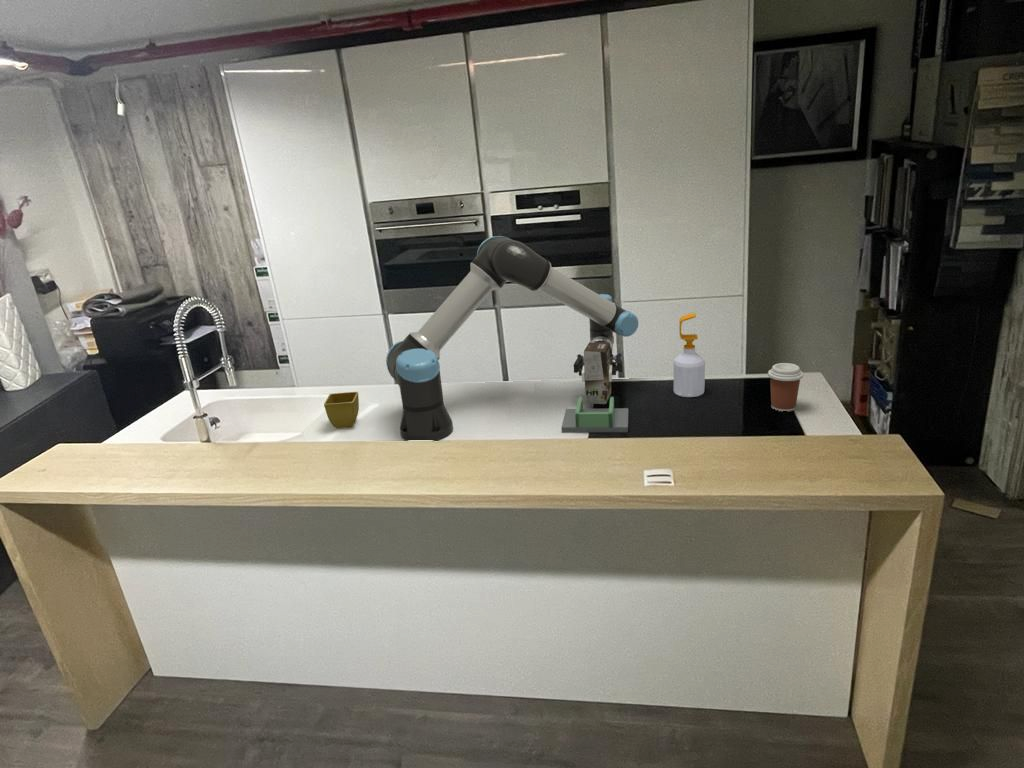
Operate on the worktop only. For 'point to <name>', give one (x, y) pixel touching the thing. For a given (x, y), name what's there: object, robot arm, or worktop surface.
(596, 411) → the chute bracket
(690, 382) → the soap bottle
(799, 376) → the coffee cup
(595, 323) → the robot arm
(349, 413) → the flower pot
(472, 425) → the worktop surface
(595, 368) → the coffee box
